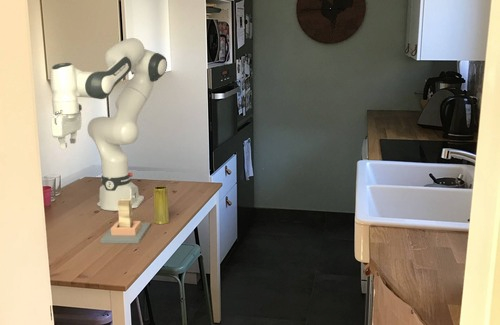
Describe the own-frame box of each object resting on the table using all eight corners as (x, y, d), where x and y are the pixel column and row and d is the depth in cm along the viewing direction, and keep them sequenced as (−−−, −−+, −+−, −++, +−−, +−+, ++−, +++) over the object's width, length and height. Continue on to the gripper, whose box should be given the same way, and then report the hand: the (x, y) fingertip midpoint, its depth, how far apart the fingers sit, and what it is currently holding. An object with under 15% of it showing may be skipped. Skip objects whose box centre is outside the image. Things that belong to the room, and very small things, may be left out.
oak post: (122, 229, 212) (120, 198, 209) (133, 229, 212) (131, 198, 209) (119, 232, 208) (117, 202, 205) (130, 233, 208) (128, 202, 205)
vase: (169, 219, 227) (168, 185, 223) (169, 223, 221) (168, 189, 217) (154, 220, 226) (152, 185, 222) (154, 224, 220) (152, 190, 216)
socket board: (115, 224, 220) (115, 216, 219) (150, 225, 219) (150, 216, 219) (100, 243, 201) (99, 233, 200) (138, 243, 200) (138, 234, 199)
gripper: (63, 112, 194) (66, 151, 197) (83, 105, 213) (86, 140, 217) (45, 112, 194) (49, 151, 197) (67, 105, 214) (70, 140, 217)
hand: (68, 145), depth 207 cm, fingers open, 8 cm apart
